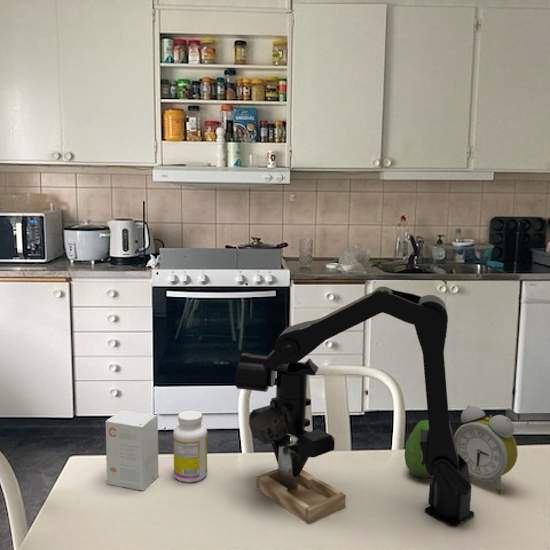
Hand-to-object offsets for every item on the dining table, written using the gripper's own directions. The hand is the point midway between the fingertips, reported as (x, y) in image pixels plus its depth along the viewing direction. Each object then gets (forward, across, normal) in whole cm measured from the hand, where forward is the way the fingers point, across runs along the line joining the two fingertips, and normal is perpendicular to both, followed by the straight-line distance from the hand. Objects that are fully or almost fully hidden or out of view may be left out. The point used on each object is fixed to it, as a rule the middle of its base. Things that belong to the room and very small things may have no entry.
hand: (288, 471), depth 116 cm
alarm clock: (+4, +21, +34) cm, 40 cm away
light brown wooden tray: (+4, +3, 0) cm, 5 cm away
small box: (+4, -21, -22) cm, 31 cm away
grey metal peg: (+2, 0, 0) cm, 2 cm away
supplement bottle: (+4, -16, -12) cm, 21 cm away
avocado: (+4, +12, +26) cm, 29 cm away
